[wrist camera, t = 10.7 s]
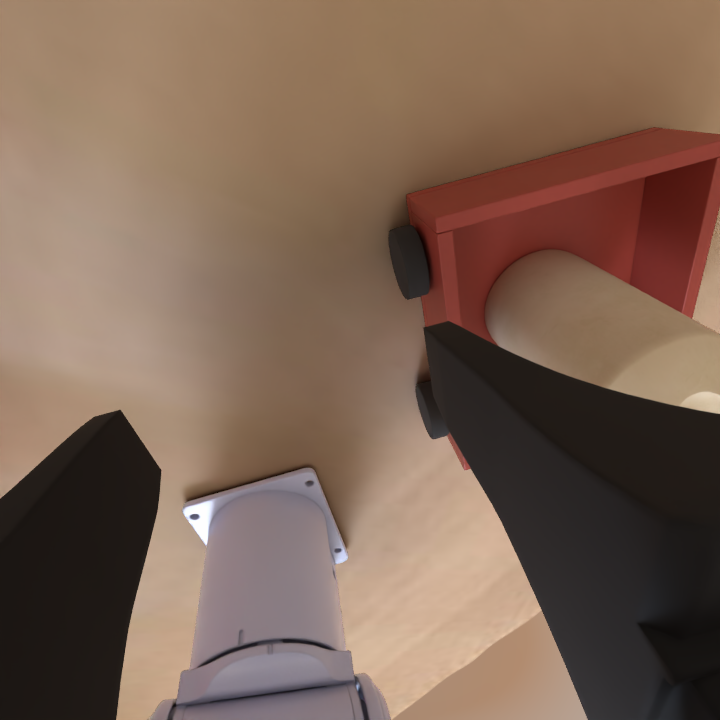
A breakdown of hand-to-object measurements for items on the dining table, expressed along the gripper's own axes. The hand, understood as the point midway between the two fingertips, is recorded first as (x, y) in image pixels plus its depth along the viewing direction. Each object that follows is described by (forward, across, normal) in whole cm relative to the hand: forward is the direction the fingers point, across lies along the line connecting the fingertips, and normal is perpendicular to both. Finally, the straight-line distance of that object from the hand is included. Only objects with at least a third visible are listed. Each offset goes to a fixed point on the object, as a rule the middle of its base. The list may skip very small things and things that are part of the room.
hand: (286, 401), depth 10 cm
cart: (+10, -12, +5) cm, 16 cm away
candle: (+10, -12, +5) cm, 16 cm away
